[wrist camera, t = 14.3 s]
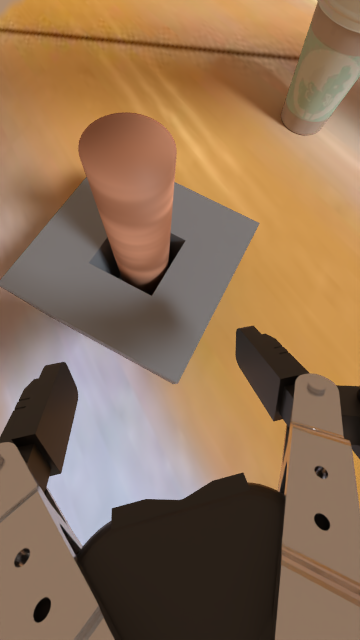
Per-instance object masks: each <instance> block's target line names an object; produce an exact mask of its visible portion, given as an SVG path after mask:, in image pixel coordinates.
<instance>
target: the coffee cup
mask: <svg viewBox="0 0 360 640" xmlns="http://www.w3.org/2000/svg"><path fill="white" fill-rule="evenodd" d="M359 77H360V0H318V3H317V6H316V9H315V12H314V15H313V18H312V21H311V24H310V27H309V30H308V33H307V36H306V39H305V42H304V45H303V48H302V51H301V54H300V58H299V61H298V64H297V67H296V70H295V73H294V76H293V79H292V82H291V85H290V88H289V91H288V94H287V97H286V100H285V103H284V107H283V110H282V113H281V119H282V121H283V123H284V125H285V126H286V127H287V128H288V129H289V130H291V131H293V132H294V133H297V134H301V135H312V134H315V133H317V132H318V131H319V130H320V129H321V128H322V126H323V125H324V124H325V122H326V121H327V120H328V118H329V117H330V116H331V114H332V113H333V112H334V110H335V109H336V108H337V106H338V105H339V104H340V102H341V101H342V100H343V98H344V97H345V96H346V94H347V93H348V92H349V90H350V89H351V88H352V86H353V85H354V83H355V82H356V81H357V79H358V78H359Z"/></svg>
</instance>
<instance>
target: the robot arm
mask: <svg viewBox="0 0 360 640" xmlns="http://www.w3.org/2000/svg"><path fill="white" fill-rule="evenodd" d="M236 360H237V363H238V365H239V367H240V369H241V370H242V372H243V374H244V375H245V377H246V378H247V380H248V381H249V383H250V385H251V386H252V388H253V389H254V391H255V393H256V394H257V396H258V397H259V399H260V400H261V402H262V404H263V405H264V407H265V408H266V410H267V412H268V413H269V415H270V416H271V418H272V419H273V421H277V420H281V419H283V420H284V421H285V423H286V424H287V425H286V431H285V439H284V448H283V456H282V465H281V473H280V479H279V485H278V491H277V490H274V489H272V488H270V487H267V486H264V485H261V484H256V483H247V481H246V478H245V476H244V473H240V474H236V475H232V476H229V477H225V478H222V479H218V480H214V481H212V482H210V483H209V484H207V485H205V486H204V487H202V488H201V489H199V490H197V491H196V492H194V493H193V494H191V495H189V496H188V497H186V498H184V499H182V500H157V499H145V500H141V501H137V502H134V503H130V504H127V505H123V506H119V507H116V508H112V521H110V522H109V523H107V524H106V525H104V526H103V527H102V528H101V529H99V530H98V531H97V532H96V533H95V534H94V535H93V536H92V537H91V538H90V539H89V540H88V541H87V542H86V544H85V545H84V546H82V545H81V543H80V541H79V540H78V538H77V537H76V535H75V534H74V532H73V531H72V529H71V528H70V526H69V524H68V522H67V521H66V519H65V517H64V515H63V514H62V512H61V510H60V509H59V507H58V505H57V503H56V502H55V500H54V498H53V496H52V495H51V493H50V491H49V489H48V488H47V483H48V479H49V476H53V475H57V474H61V472H62V467H63V463H64V458H65V454H66V450H67V445H68V441H69V436H70V432H71V428H72V423H73V419H74V414H75V410H76V406H77V401H78V391H77V387H76V385H75V382H74V380H73V378H72V375H71V373H70V371H69V369H68V366H67V364H66V363H65V362H61V363H56V364H51V365H46V366H45V367H44V368H43V370H42V373H41V375H40V377H39V379H34V380H33V381H32V382H31V383H30V384H29V385H28V386H27V387H26V388H25V389H24V391H23V393H22V395H21V397H20V399H19V402H18V403H17V405H16V407H15V411H13V413H12V415H11V417H10V419H9V421H8V423H7V425H6V427H5V429H4V431H3V432H2V434H1V437H0V640H360V509H359V501H358V493H357V485H356V478H355V470H354V462H353V454H352V450H353V451H354V452H355V454H356V455H357V456H358V457H359V459H360V386H337V385H335V384H334V383H333V382H332V381H331V380H329V379H327V378H325V377H323V376H321V375H317V374H310V373H309V372H308V371H307V370H306V369H305V368H304V367H303V366H302V365H301V364H300V363H299V362H298V361H297V360H296V359H295V358H294V357H293V356H292V355H291V354H290V353H288V351H287V350H286V349H285V348H284V347H282V345H281V344H280V343H279V342H278V341H277V340H276V339H275V338H273V337H271V336H269V335H267V334H261V333H260V332H259V331H258V330H257V329H256V328H255V327H254V326H249V327H244V328H239V329H237V331H236Z"/></svg>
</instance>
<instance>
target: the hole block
mask: <svg viewBox="0 0 360 640" xmlns="http://www.w3.org/2000/svg"><path fill="white" fill-rule="evenodd" d="M258 225H259V223H258V222H256V221H254V220H252V219H250V218H248V217H246V216H244V215H241V214H239V213H237V212H235V211H233V210H231V209H229V208H227V207H225V206H223V205H221V204H219V203H217V202H215V201H213V200H210V199H208V198H206V197H204V196H202V195H200V194H198V193H196V192H194V191H192V190H190V189H188V188H186V187H184V186H182V185H179V184H177V183H175V182H174V193H173V207H172V220H171V234H170V247H169V260H168V270H167V272H166V274H165V275H164V277H163V279H162V280H161V282H160V284H159V285H158V287H157V288H156V290H155V292H154V293H153V295H152V296H151V295H149V294H147V293H145V292H143V291H141V290H139V289H137V288H135V287H134V286H132V285H130V284H128V283H126V282H124V281H123V280H122V277H121V274H120V271H119V268H118V265H117V263H116V260H115V257H114V254H113V251H112V248H111V245H110V242H109V240H108V237H107V234H106V231H105V228H104V225H103V222H102V219H101V217H100V214H99V211H98V208H97V205H96V202H95V199H94V196H93V194H92V191H91V188H90V185H89V182H88V179H87V177H86V178H85V179H84V180H83V182H82V183H81V184H80V185H79V186H78V188H77V189H76V190H75V191H74V192H73V194H72V195H71V196H70V197H69V198H68V200H67V201H66V202H65V203H64V204H63V206H62V207H61V208H60V209H59V210H58V212H57V213H56V214H55V215H54V216H53V218H52V219H51V220H50V221H49V222H48V224H47V225H46V226H45V227H44V228H43V230H42V231H41V232H40V233H39V234H38V236H37V237H36V238H35V239H34V240H33V241H32V243H31V244H30V245H29V246H28V247H27V249H26V250H25V251H24V252H23V253H22V255H21V256H20V257H19V258H18V259H17V261H16V262H15V263H14V264H13V265H12V267H11V268H10V269H9V270H8V271H7V273H6V274H5V275H4V276H3V277H2V279H1V280H0V287H2V288H4V289H5V290H7V291H9V292H10V293H12V294H14V295H15V296H17V297H19V298H20V299H22V300H24V301H25V302H27V303H28V304H30V305H32V306H33V307H35V308H37V309H38V310H40V311H42V312H43V313H45V314H47V315H49V316H50V317H52V318H54V319H56V320H58V321H59V322H61V323H63V324H65V325H67V326H69V327H70V328H72V329H74V330H76V331H78V332H79V333H81V334H83V335H85V336H87V337H89V338H90V339H92V340H94V341H96V342H98V343H99V344H101V345H103V346H105V347H107V348H109V349H110V350H112V351H114V352H116V353H118V354H120V355H121V356H123V357H125V358H127V359H129V360H130V361H132V362H134V363H136V364H138V365H140V366H141V367H143V368H145V369H147V370H149V371H150V372H152V373H154V374H156V375H158V376H160V377H161V378H163V379H165V380H167V381H169V382H171V383H172V384H177V383H178V382H179V380H180V378H181V376H182V374H183V372H184V370H185V368H186V366H187V364H188V362H189V360H190V358H191V356H192V354H193V353H194V351H195V349H196V347H197V345H198V343H199V341H200V339H201V337H202V335H203V333H204V331H205V329H206V327H207V325H208V323H209V321H210V319H211V317H212V315H213V313H214V311H215V309H216V308H217V306H218V304H219V302H220V300H221V298H222V296H223V294H224V292H225V290H226V288H227V286H228V284H229V282H230V280H231V278H232V276H233V274H234V272H235V270H236V268H237V266H238V265H239V263H240V261H241V259H242V257H243V255H244V253H245V251H246V249H247V247H248V245H249V243H250V241H251V239H252V237H253V235H254V233H255V231H256V229H257V227H258Z"/></svg>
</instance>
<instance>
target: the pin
mask: <svg viewBox="0 0 360 640" xmlns="http://www.w3.org/2000/svg"><path fill="white" fill-rule="evenodd" d="M79 156H80V159H81V162H82V165H83V168H84V171H85V173H86V176H87V179H88V182H89V185H90V188H91V191H92V194H93V196H94V199H95V202H96V205H97V208H98V211H99V214H100V217H101V219H102V222H103V225H104V228H105V231H106V234H107V237H108V240H109V242H110V245H111V248H112V251H113V254H114V257H115V260H116V263H117V265H118V268H119V271H120V274H121V277H122V280H123V281H124V282H126V283H128V284H130V285H132V286H134V287H135V288H137V289H139V290H141V291H143V292H145V293H147V294H149V295H151V296H152V295H153V293H154V292H155V290H156V288H157V287H158V285H159V284H160V282H161V280H162V279H163V277H164V275H165V274H166V272H167V270H168V260H169V247H170V234H171V220H172V207H173V193H174V180H175V167H176V144H175V141H174V139H173V137H172V135H171V134H170V132H169V131H168V130H167V129H166V128H165V127H164V126H163V125H162V124H160V123H159V122H157V121H156V120H154V119H152V118H150V117H147V116H144V115H141V114H136V113H115V114H110V115H107V116H104V117H101V118H99V119H97V120H96V121H94V122H93V123H91V124H90V125H89V126H88V127H87V128H86V129H85V131H84V132H83V134H82V135H81V138H80V141H79Z"/></svg>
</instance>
